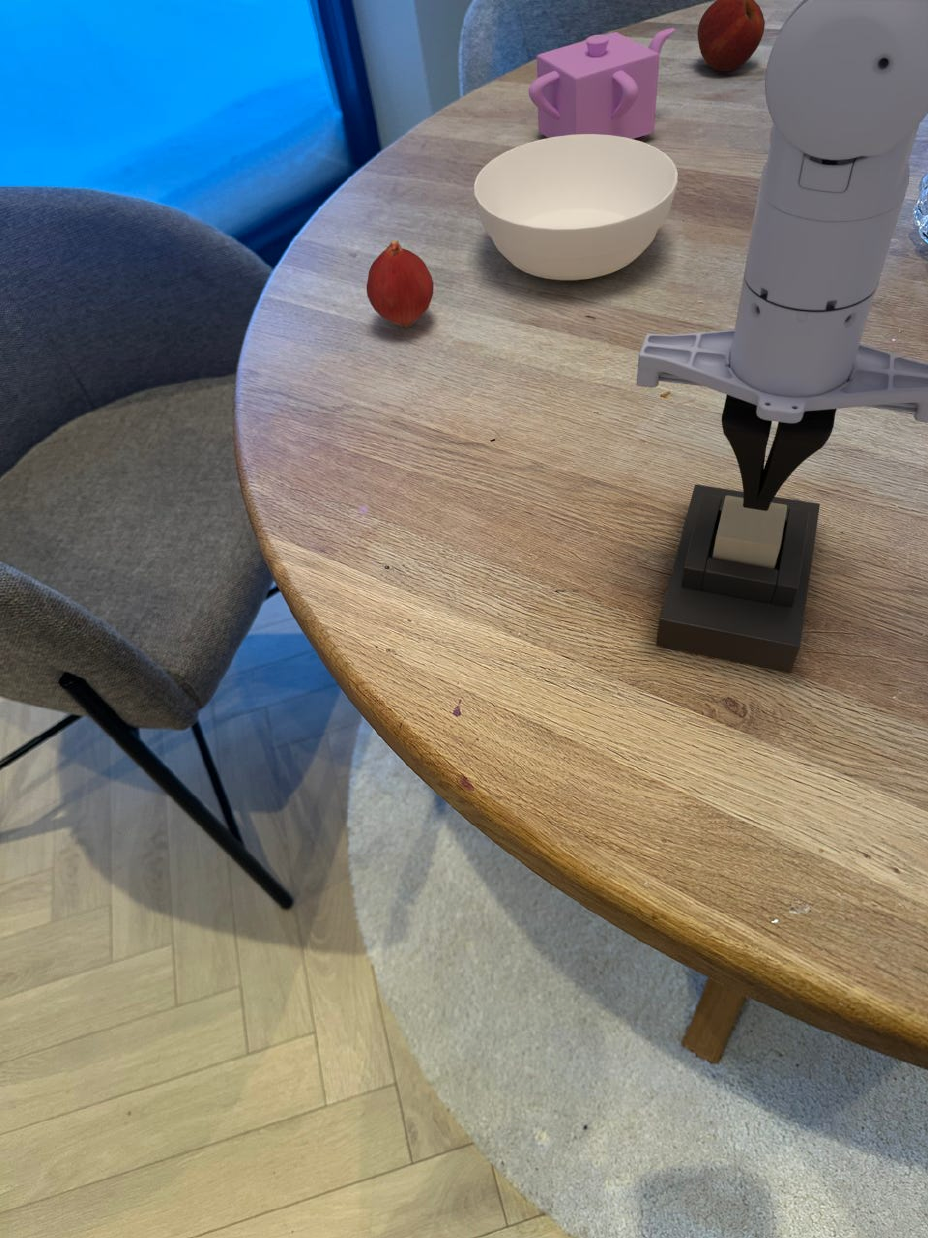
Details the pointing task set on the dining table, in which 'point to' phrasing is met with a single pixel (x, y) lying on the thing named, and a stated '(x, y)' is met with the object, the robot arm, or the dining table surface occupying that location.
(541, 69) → the teapot
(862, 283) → the robot arm
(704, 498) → the switch plate
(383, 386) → the dining table surface
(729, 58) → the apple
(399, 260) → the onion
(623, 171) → the bowl
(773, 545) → the switch
